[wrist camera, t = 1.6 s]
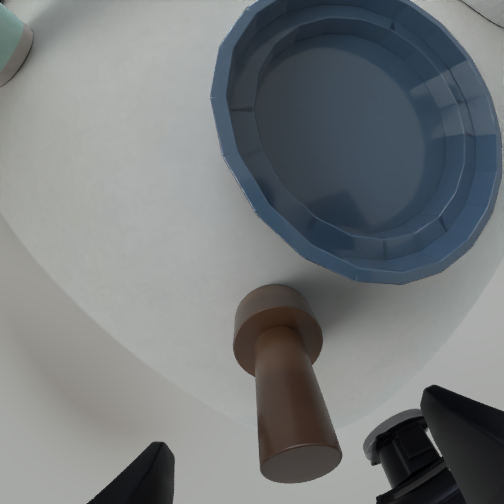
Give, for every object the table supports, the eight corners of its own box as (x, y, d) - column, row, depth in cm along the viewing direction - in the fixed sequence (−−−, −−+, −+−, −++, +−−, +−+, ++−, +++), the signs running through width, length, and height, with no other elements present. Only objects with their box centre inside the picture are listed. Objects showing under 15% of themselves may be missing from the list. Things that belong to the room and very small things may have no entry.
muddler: (314, 342, 16) (368, 476, 6) (244, 356, 16) (243, 501, 6) (305, 276, 15) (382, 400, 5) (227, 292, 15) (203, 436, 5)
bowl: (466, 233, 15) (510, 246, 10) (255, 284, 15) (258, 321, 11) (419, 30, 11) (451, 5, 7) (201, 32, 12) (188, -12, 7)
